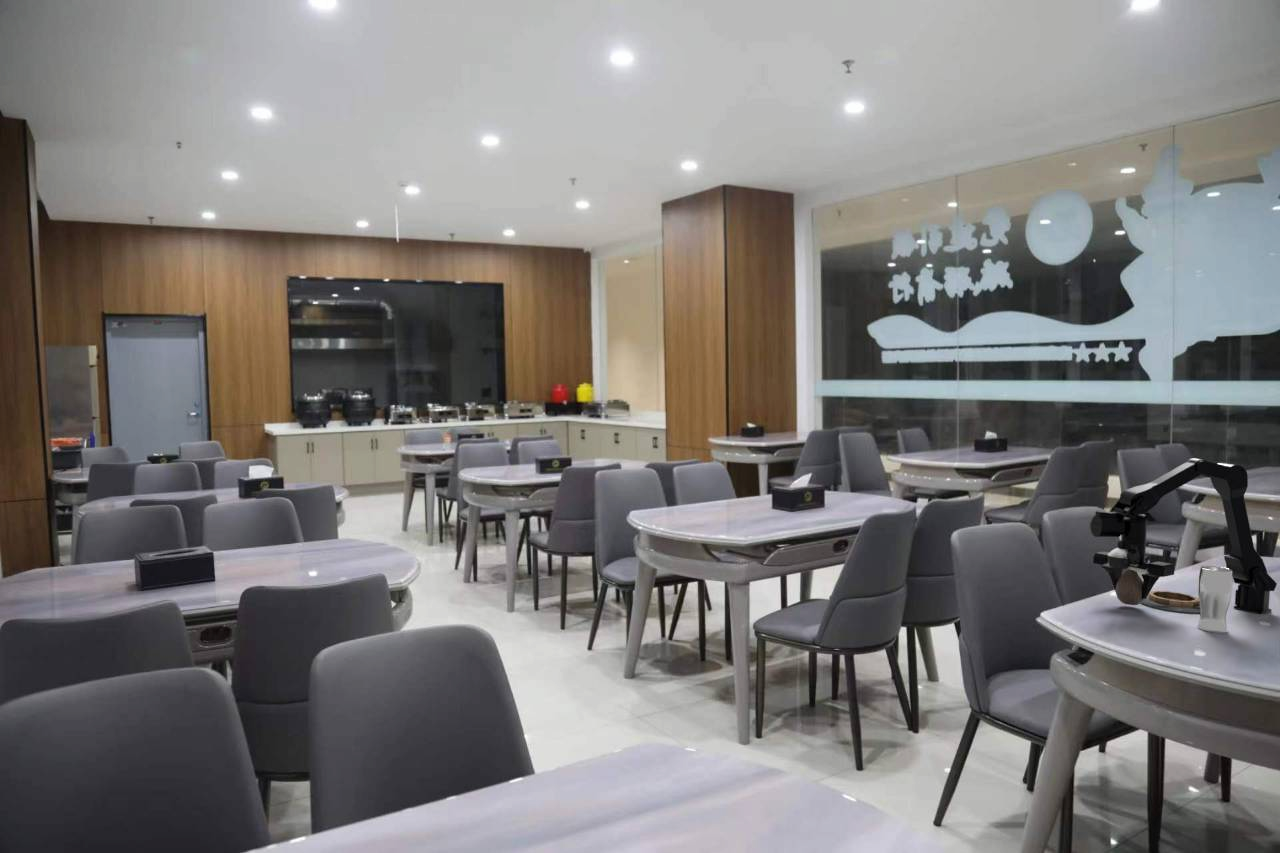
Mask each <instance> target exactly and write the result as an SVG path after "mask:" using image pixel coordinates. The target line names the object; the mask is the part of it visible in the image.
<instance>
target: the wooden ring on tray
mask: <svg viewBox="0 0 1280 853" xmlns="http://www.w3.org/2000/svg"><path fill="white" fill-rule="evenodd" d="M1140 604H1141V605H1143V606H1147V607H1149V606H1150V608H1152V607H1153V608H1152V609H1156V608H1158V610H1161V609H1162V610H1161V611H1167V612H1172V611H1173V613H1183V614H1200V603H1199V597H1196V596H1194V595H1192V594H1186V593H1182V592H1178V591H1177V592H1176V591H1170V590H1151V591H1150V592H1149V594H1148V596H1147V598H1146V599H1144V600H1143V601H1142V602H1141V603H1140Z"/></svg>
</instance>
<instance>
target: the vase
mask: <svg viewBox="0 0 1280 853" xmlns="http://www.w3.org/2000/svg"><path fill="white" fill-rule="evenodd" d="M1125 570H1126V571H1125V572H1124V573H1122V576H1121V577H1120V578H1119V580H1118V581H1117V584H1116V592H1115V594H1116V597H1117V599H1118V600H1119V601H1120V603H1122V604H1125V605H1129V606H1138V605H1140V604H1141V602H1142V601H1143V600H1144V599H1143V598H1142V590H1143V578H1141V577H1140V575H1139V574H1138V571H1137V570H1134V569H1125Z"/></svg>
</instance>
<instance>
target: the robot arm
mask: <svg viewBox="0 0 1280 853" xmlns="http://www.w3.org/2000/svg"><path fill="white" fill-rule="evenodd" d="M1200 476H1203V477H1206V478H1209V479H1210V481H1211V483H1212V486H1213V488H1214V490H1215V491H1216V492H1217V493H1218V495H1219V496H1220V498H1221V501H1222V507H1223V511H1224V516H1225V520H1226V525H1227V531H1228V535H1229V541H1230V546H1231V551H1230V553H1229V555H1224V556H1223V557H1224V558H1223V559H1224V561H1225V566H1226V567H1225V568H1228V569H1231V570H1232V579H1233V583H1234V584H1238V585H1237V589H1236V590H1235V594H1234V595H1235V598H1234V606H1233V609H1236V610H1237V609H1238V610H1242V611H1245V612H1251V613H1255V614H1260V615H1261V614H1266V613H1269V612H1272V611H1273V610H1272V608H1269V607H1270V596H1271V595H1270V594H1271V593H1270V592H1274V591H1275V589H1276V587H1277V585H1278V583H1277V582H1276V581H1275V580H1274V578H1272V576H1270V575H1269V574H1268V570H1267V566H1266V565H1265V562H1264V559H1263V558H1262V557H1261V555H1260V554H1259V552H1257V550H1256V549H1255V546H1254V541H1253V536H1252V531H1251V525H1250V521H1249V516H1248V515H1249V514H1248V511H1247V506H1246V501H1245V493H1246V492H1247V489H1248V487H1249V481H1248V480H1249V475H1248V471H1247V469H1246V468H1245V467H1244V466H1242V465H1238V464H1233V463H1227V462H1226V463H1225V462H1217V463H1215V462H1211V461H1207V460H1205V459H1204V458H1203V459H1201V458H1196V457H1193V458H1189V459H1187V461H1186V462H1184V463H1182V464H1181V465H1178V466H1177V467H1175V468H1174V469H1172V470H1170V471H1169V472H1166V473H1165V474H1163V475H1161V476H1159V477H1158V478H1155V479H1154V480H1153V481H1151V482H1148V483H1145V484H1140V485H1136V486H1133V487H1131V488H1127V489H1125V490H1123V491H1122V492H1120V494H1119V495H1120V496H1119V499H1118V500H1117V501H1116V502H1115V504H1114V505H1113V506H1112V507H1111V508H1110V510H1109V511H1102V510H1096V511H1095V515H1094V516H1093V517H1092V519H1091V521H1090V523H1089V527H1090V532H1091V534H1092V535H1093V537H1095V538H1119V537H1121V538H1120V540H1118V541H1117V546H1116V547H1115V548H1113V549H1112V550H1111V551H1110V552H1109V551H1099V552H1095V553H1094V554H1093V555H1092V561H1091V562H1092V564H1096V565H1100V567H1101V569H1104V570H1105V571H1106V572H1107V573H1108V575H1109V577H1110V580H1111V583H1112V586H1113V589H1114V592H1115V593H1116V584H1117V581H1118V580H1119V578H1120V577H1121V576H1122V575H1123V570H1128V569H1129V567H1130V568H1135V569H1140V570H1145V571H1146V573H1142V574H1141V577H1142V581H1143V590H1142V598H1143V599H1146V598H1147V596H1148V594H1149V592H1152V589H1153V587H1154V585H1156V582H1157V581H1158V580H1159V579H1160V578H1165V577H1170V576H1174V575H1175V567H1174V565H1173V564H1172V563H1169V562H1162V561H1155V562H1154V561H1153V562H1148V559H1149V558H1148V557H1147V556H1146V551H1147V550H1146V548H1147V547H1149V544H1150V543H1149V541H1147V530H1148V523H1150V522H1151V523H1152V522H1153V523H1154V522H1156V521H1157V519H1156V518H1154V517H1153V516H1152V515H1151V513H1150V511H1151V510H1152V509H1154V507H1156V506H1157V505H1158V504H1159V502H1160V501H1161V499H1162V498H1164V497H1165V496H1166V495H1169V494H1171V493H1172V492H1173V491H1176V490H1178V489H1179V488H1181V487H1183V486H1184V485H1186V484H1187V483H1189V482H1191V481H1193V480H1195V479H1197V478H1199V477H1200Z"/></svg>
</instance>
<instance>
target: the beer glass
mask: <svg viewBox="0 0 1280 853" xmlns="http://www.w3.org/2000/svg"><path fill="white" fill-rule="evenodd" d="M1233 583H1234V580H1233V576H1232V570H1231V569H1228V568H1226V567H1222V566H1217V565H1215V566H1214V565H1201V566H1199V572H1198V580H1197V596H1198V598H1199V603H1200V613H1199V619H1198V623H1197V628H1198V629H1199V630H1201V631H1205V632H1208V633H1209V632H1210V633H1217V634H1226V633H1228V627H1227V626H1228V625H1227V615H1228V614H1227V613H1228V610H1229V606H1230V602H1231V600H1232V595H1233V594H1232V593H1233Z"/></svg>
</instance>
